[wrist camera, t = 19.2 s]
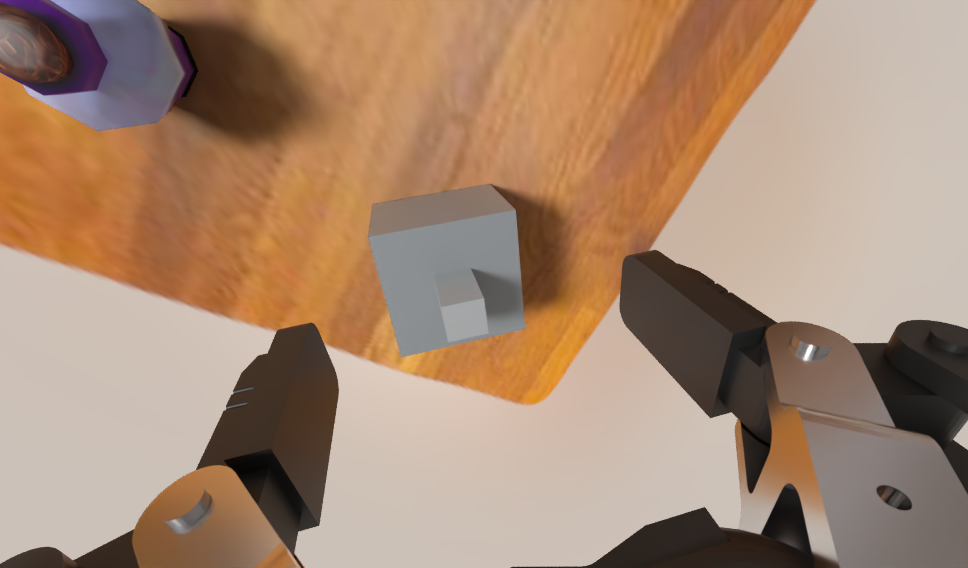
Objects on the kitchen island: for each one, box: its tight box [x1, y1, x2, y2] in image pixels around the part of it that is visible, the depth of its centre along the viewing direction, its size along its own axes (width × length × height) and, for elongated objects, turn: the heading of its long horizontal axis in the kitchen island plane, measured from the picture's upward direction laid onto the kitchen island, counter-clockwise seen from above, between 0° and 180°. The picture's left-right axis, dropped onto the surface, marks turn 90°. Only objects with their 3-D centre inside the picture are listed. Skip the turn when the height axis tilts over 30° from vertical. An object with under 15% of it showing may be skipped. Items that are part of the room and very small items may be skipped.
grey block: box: [368, 184, 525, 357], centre depth 33 cm, size 11×11×14 cm
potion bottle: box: [0, 0, 198, 131], centre depth 23 cm, size 9×9×12 cm
